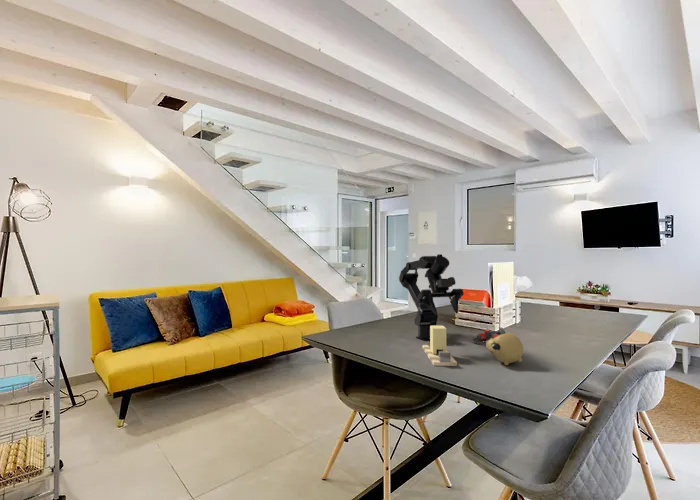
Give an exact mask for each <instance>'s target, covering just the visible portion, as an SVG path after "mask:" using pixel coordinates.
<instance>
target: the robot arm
mask: <svg viewBox="0 0 700 500" xmlns="http://www.w3.org/2000/svg"><path fill="white" fill-rule="evenodd" d="M449 266H450V260H449V259H448V258H447V257H445V256H443V254H441V253H440V254H437V255H422V256H421V257H419V258H418V260H413V261H409V262H406V263H405V266H404V267H403V268H402V270H401V271H400V274H399V277H398V279H399V283H400V284H401V286H402V287H403V288H405V289H406V290H407V291H408V292H409V295H410V296H411V299H412V301H413V302H414V304H415V306H416V308H417V312H416V316H415V317H414V325H416V326H418V328H417V329H418V332H417V333H418V334H417V336H415V338H416V339H418V340H421V341H430V326H437V323H438V317H439V315H438V310H437V307H436V305H435V302H434V298H449V299H448V300H450V301H449V302H450V305H451V307H452V309H453V311H454V312H455V314H458V313H459V300H460V299H461V298H463V296H464V295H465V293H464V290H463V289H462V288H452V290H451V291H449V290H450V288H451V287H453V286H455V285H456V279H455V277H454V276H450V277H448V278H442V274H444V273H445V271H446V270H447V269H448V267H449ZM421 269H423V270H426V272H425V274H424V278H427V281H428V288H429V289H420V288H419V286H418V285H417V282H418V278H419V273H418V270H421ZM410 271H414V272H410Z"/></svg>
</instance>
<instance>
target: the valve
mask: <svg viewBox="0 0 700 500" xmlns="http://www.w3.org/2000/svg"><path fill="white" fill-rule="evenodd" d="M505 333H506V332H505V329H504V328H503V327H499V328H498V330H492V329H489V328H486V329H485V330H484V331H483V332H480V333H479V332H478V334H477V335H476V337H473V338H472V339H471V342H472V343H473V344H477V345H486V341H487V340H488V339H491V338H492V339H493V338H495V337H497V336H499V335H501V334H505ZM476 340H477V341H476ZM483 341H484V342H483Z"/></svg>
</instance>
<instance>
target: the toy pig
mask: <svg viewBox="0 0 700 500" xmlns="http://www.w3.org/2000/svg"><path fill="white" fill-rule="evenodd" d="M485 346H486V349H487V350H488V351H489V352H490V353H491V354H492V355H493V356H494V358H495V359H496V360H498V361H499V362H501V363H503V364H504V365H505V366H506V365H507V366H509V364H511V363H512V364H513V363H515V362H519V363H522V362H523V358H522V357H523V355H524V350H525V349H524V348H525V347H524V344H523V342H522V341H521V339H520V338H519V337H518V336H517V335H516V334H514V333H511V332H507V333H506V332H505V334H501V335H499V336H497V337H495V338H493V339H492V338H491V339H488V340H487V341H486V344H485Z"/></svg>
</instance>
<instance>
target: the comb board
mask: <svg viewBox="0 0 700 500" xmlns="http://www.w3.org/2000/svg"><path fill="white" fill-rule="evenodd" d="M422 350H423V351H424V353H425V354H426V356H427V357H428V359H429V360H430V362H431V364H432V365H433V366H435V367H438V366H439V367H440V366H441V367H448V366H449V367H452V366H453V367H457V366H458V362H457V360H456V359H455V358H454V357H453V356H452V355H451V352H450V350H447V349H446V351H441V350H440V349H436V354H433V353H432V352H431V350H430V341H427V344H422Z"/></svg>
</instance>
